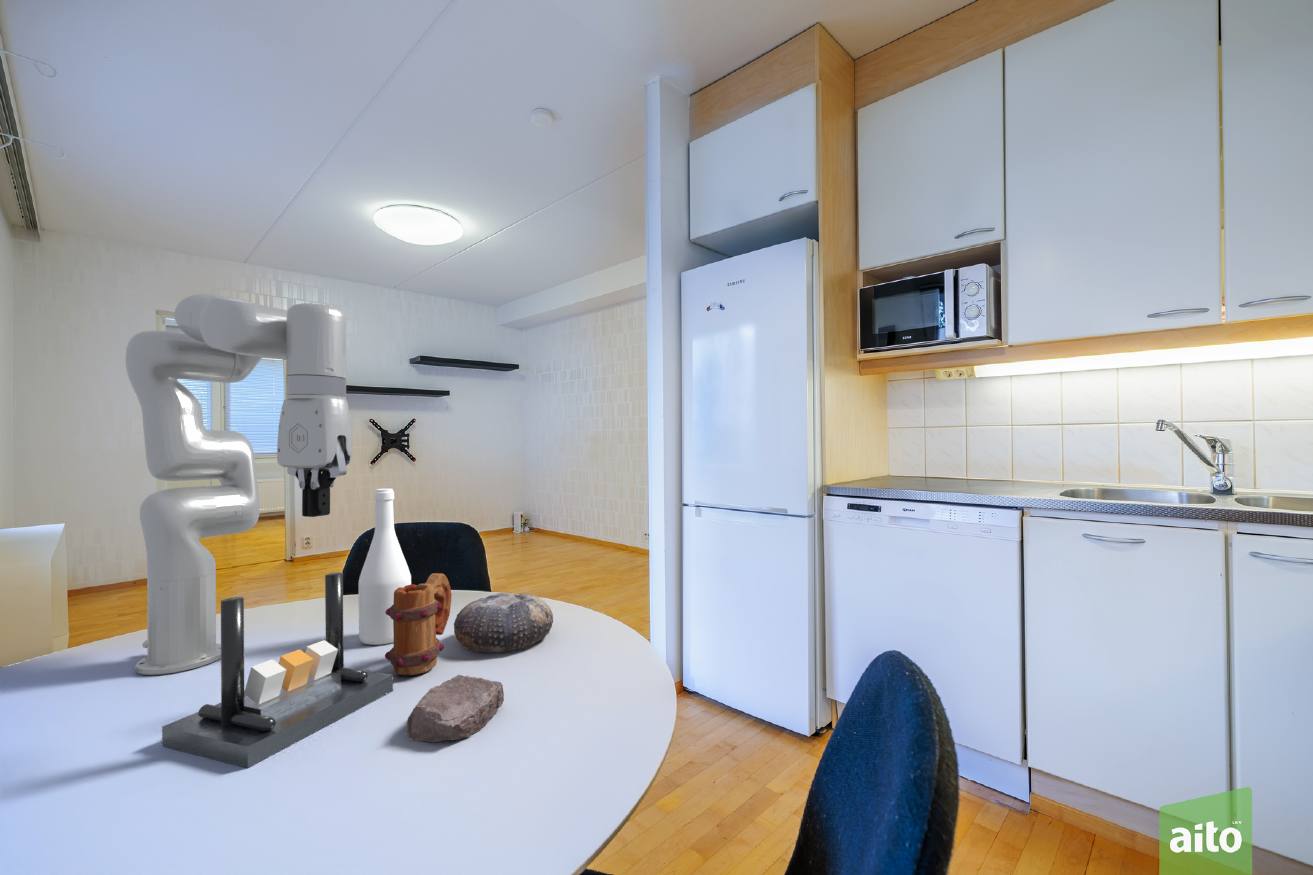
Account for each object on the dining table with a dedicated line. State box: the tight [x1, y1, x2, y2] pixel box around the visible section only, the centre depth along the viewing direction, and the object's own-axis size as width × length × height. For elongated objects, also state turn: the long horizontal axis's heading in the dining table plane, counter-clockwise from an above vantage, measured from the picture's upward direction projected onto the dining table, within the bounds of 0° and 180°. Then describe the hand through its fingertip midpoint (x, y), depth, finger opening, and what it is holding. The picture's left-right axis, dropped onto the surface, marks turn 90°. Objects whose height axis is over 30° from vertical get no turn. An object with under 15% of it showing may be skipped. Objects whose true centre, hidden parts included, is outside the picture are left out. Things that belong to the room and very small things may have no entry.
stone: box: [406, 674, 505, 743], centre depth 76 cm, size 12×9×5 cm
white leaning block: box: [304, 639, 338, 680], centre depth 83 cm, size 3×3×4 cm
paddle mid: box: [278, 649, 313, 692], centre depth 79 cm, size 3×3×4 cm
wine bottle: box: [358, 488, 412, 646], centre depth 112 cm, size 10×10×30 cm
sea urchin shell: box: [453, 592, 554, 653], centre depth 109 cm, size 19×19×10 cm
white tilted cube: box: [244, 659, 286, 705], centre depth 75 cm, size 3×3×4 cm
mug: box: [384, 572, 453, 677], centre depth 97 cm, size 15×8×15 cm, turn 168°
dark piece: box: [161, 572, 394, 769], centre depth 79 cm, size 16×22×18 cm
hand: (316, 515), depth 81 cm, fingers closed
